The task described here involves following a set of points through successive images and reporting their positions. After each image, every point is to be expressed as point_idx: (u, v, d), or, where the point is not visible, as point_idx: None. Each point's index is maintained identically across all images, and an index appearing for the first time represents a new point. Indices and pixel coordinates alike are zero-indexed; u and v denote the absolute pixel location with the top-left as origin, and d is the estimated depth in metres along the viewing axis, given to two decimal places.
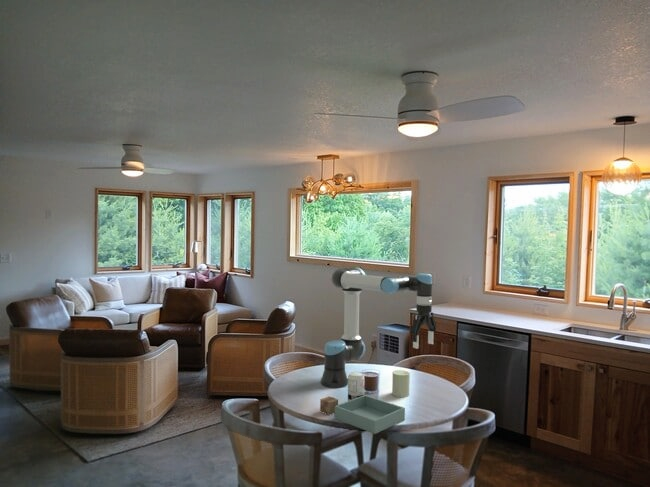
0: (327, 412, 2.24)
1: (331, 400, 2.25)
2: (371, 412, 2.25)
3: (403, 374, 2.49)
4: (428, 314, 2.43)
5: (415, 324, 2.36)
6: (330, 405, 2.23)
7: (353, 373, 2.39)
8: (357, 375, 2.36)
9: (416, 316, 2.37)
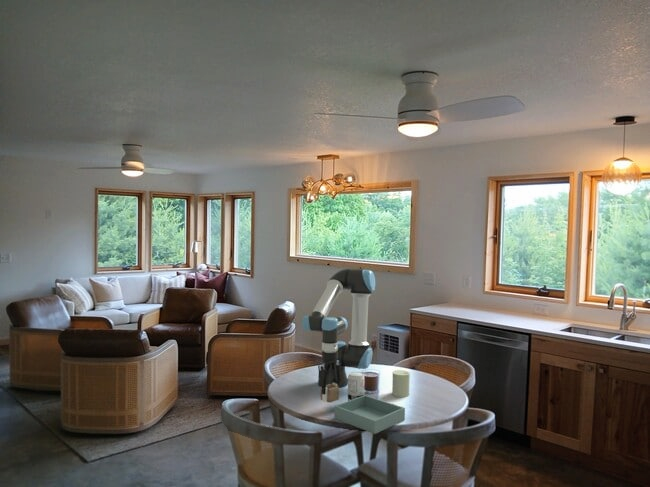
0: (328, 400, 2.24)
1: (332, 388, 2.26)
2: (371, 412, 2.25)
3: (403, 374, 2.49)
4: (335, 360, 2.28)
5: (321, 376, 2.22)
6: (331, 393, 2.24)
7: (353, 373, 2.39)
8: (357, 375, 2.36)
9: (319, 368, 2.22)
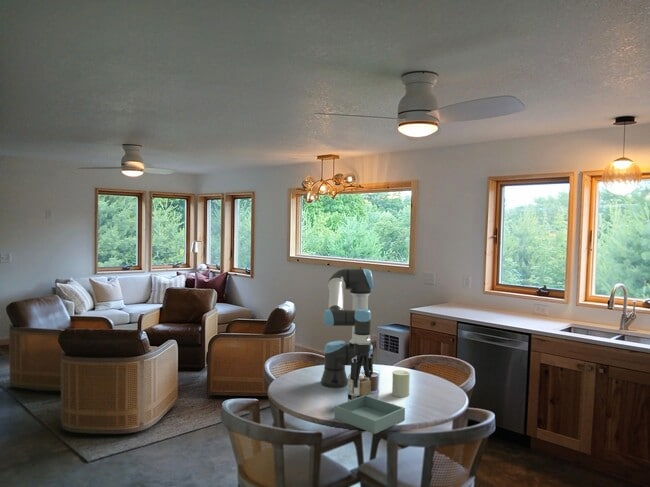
0: (360, 393, 2.18)
1: (364, 381, 2.20)
2: (371, 412, 2.25)
3: (403, 374, 2.49)
4: (367, 353, 2.22)
5: (353, 369, 2.17)
6: (363, 386, 2.18)
7: None
8: None
9: (352, 360, 2.17)
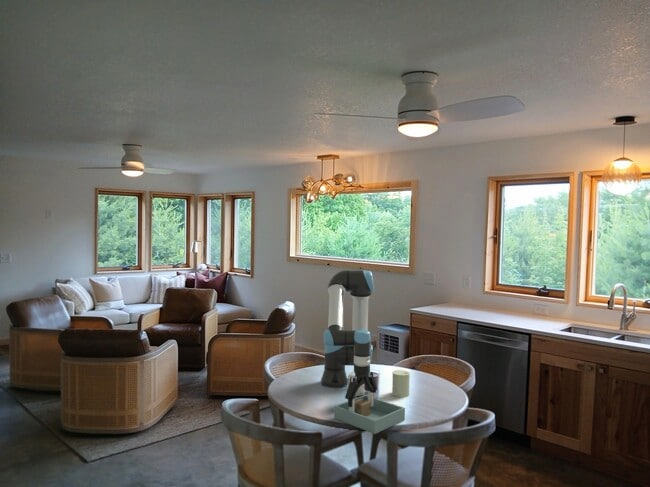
0: None
1: (363, 403, 2.21)
2: (371, 412, 2.25)
3: (403, 374, 2.49)
4: (367, 375, 2.23)
5: (350, 388, 2.16)
6: (363, 408, 2.18)
7: (353, 373, 2.39)
8: None
9: (352, 378, 2.17)
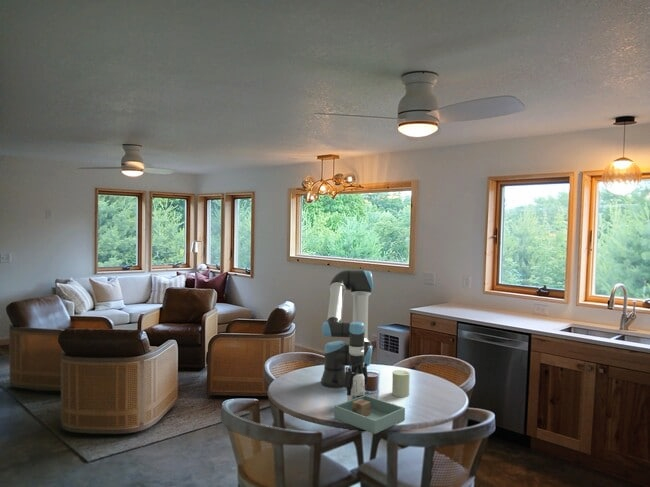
0: None
1: (363, 403, 2.21)
2: (371, 412, 2.25)
3: (403, 374, 2.49)
4: (361, 363, 2.38)
5: (347, 377, 2.32)
6: (363, 408, 2.18)
7: None
8: (357, 375, 2.36)
9: (347, 369, 2.32)
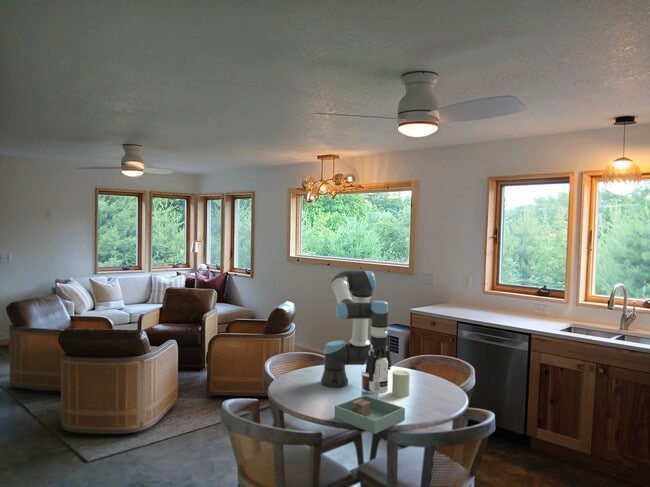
0: None
1: (363, 403, 2.21)
2: (371, 412, 2.25)
3: (403, 374, 2.49)
4: (384, 346, 2.15)
5: (369, 361, 2.09)
6: (363, 408, 2.18)
7: None
8: (380, 358, 2.13)
9: (369, 352, 2.09)
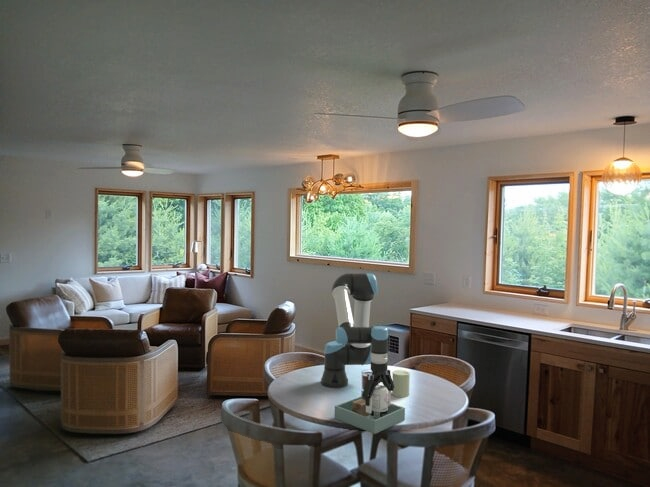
0: None
1: (363, 403, 2.21)
2: None
3: (403, 374, 2.49)
4: (384, 372, 2.15)
5: (368, 386, 2.09)
6: (363, 408, 2.18)
7: (376, 386, 2.16)
8: (380, 388, 2.14)
9: (369, 376, 2.10)
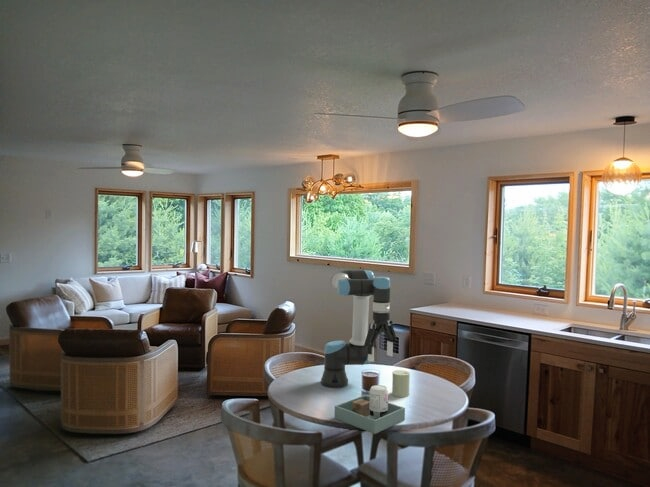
0: None
1: (363, 403, 2.21)
2: None
3: (403, 374, 2.49)
4: (386, 323, 2.16)
5: (370, 334, 2.09)
6: (363, 408, 2.18)
7: (375, 387, 2.16)
8: (380, 388, 2.14)
9: (371, 325, 2.10)
